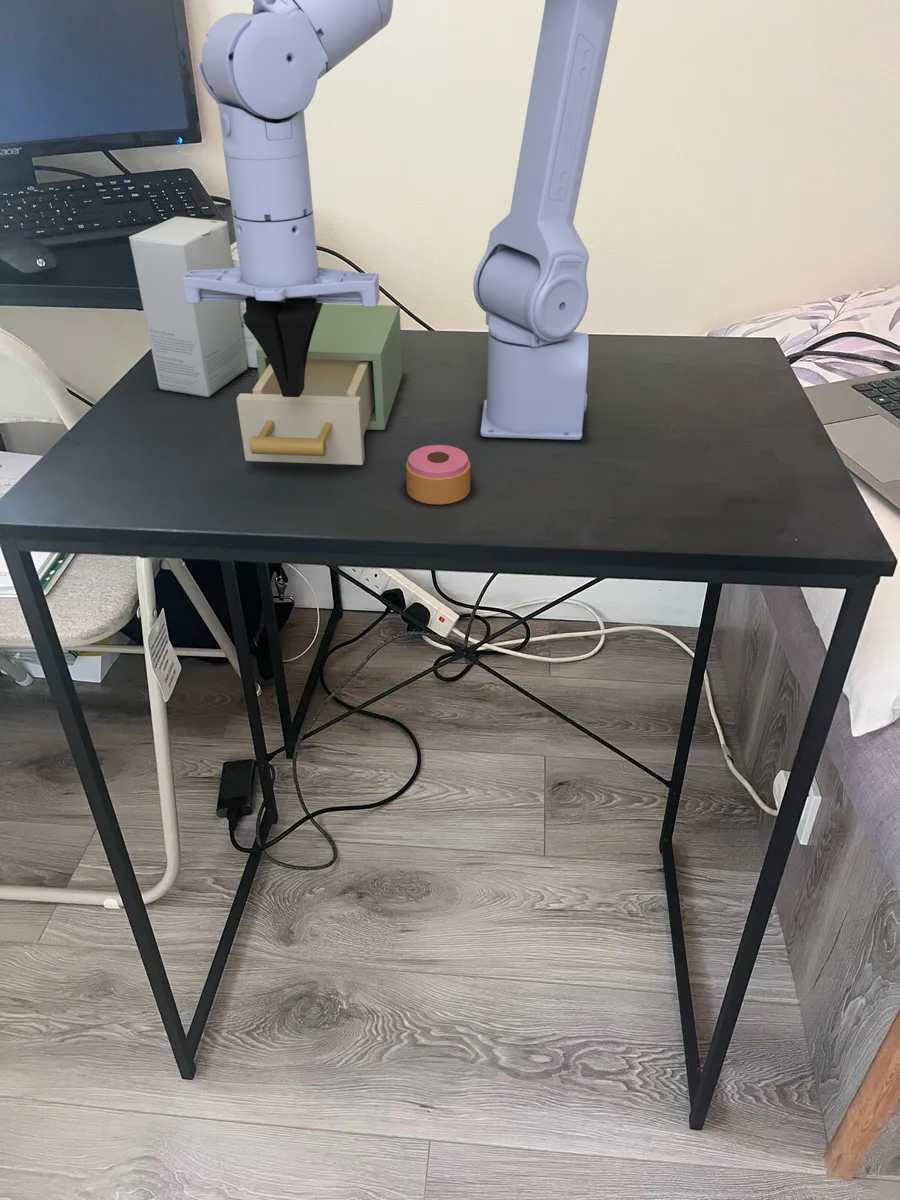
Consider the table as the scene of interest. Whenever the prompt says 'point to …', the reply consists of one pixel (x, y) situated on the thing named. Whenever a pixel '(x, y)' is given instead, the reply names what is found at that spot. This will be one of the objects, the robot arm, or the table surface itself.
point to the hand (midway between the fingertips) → (293, 392)
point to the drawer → (310, 415)
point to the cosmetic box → (188, 306)
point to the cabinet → (359, 348)
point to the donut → (438, 474)
